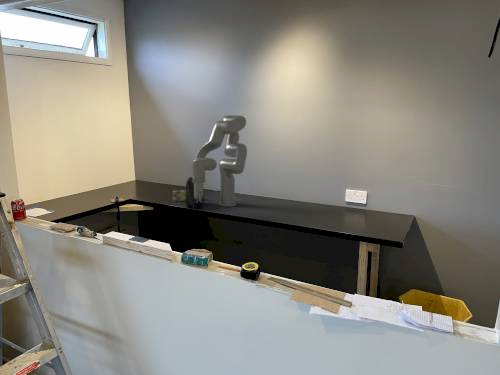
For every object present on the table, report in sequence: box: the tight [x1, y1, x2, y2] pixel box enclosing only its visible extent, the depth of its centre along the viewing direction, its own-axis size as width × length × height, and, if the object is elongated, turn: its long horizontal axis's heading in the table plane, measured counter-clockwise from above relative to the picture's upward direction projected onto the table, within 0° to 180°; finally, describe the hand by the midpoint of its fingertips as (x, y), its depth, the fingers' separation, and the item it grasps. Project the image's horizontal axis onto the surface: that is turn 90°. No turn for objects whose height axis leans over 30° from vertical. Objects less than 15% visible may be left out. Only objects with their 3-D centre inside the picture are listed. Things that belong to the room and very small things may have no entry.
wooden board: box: [172, 189, 186, 202], centre depth 248 cm, size 20×2×7 cm, turn 104°
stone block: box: [184, 176, 205, 209], centre depth 234 cm, size 18×9×20 cm, turn 161°
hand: (198, 208), depth 215 cm, fingers closed
